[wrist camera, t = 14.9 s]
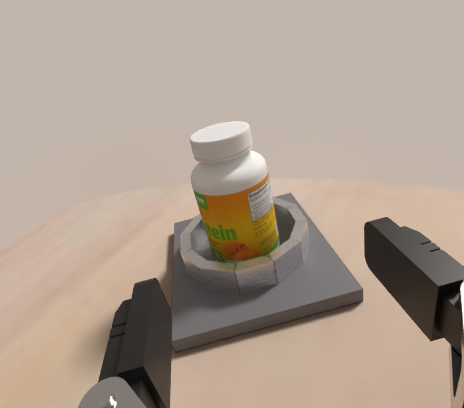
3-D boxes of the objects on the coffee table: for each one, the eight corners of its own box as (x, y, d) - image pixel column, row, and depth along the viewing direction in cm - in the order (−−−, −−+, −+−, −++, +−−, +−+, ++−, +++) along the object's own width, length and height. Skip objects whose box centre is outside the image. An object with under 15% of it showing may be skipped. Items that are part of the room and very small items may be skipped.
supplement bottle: (199, 259, 25) (161, 144, 20) (241, 224, 28) (216, 117, 24) (253, 281, 21) (221, 148, 17) (293, 238, 25) (276, 117, 20)
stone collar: (188, 308, 20) (180, 286, 20) (186, 231, 29) (180, 213, 28) (328, 270, 21) (326, 247, 20) (285, 205, 29) (283, 186, 28)
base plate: (175, 352, 19) (170, 341, 18) (177, 231, 31) (174, 223, 31) (363, 300, 19) (362, 288, 19) (291, 201, 32) (290, 192, 31)
